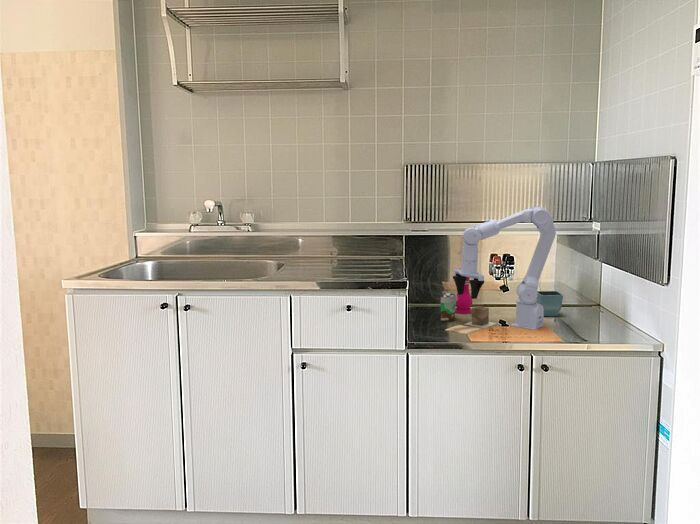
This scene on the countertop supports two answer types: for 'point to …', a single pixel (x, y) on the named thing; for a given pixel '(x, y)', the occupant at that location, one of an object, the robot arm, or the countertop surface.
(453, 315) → the food container
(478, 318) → the block
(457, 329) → the coaster
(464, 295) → the pepper mill
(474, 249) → the robot arm
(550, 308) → the flower pot
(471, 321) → the tile
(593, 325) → the countertop surface
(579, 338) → the countertop surface
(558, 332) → the countertop surface
